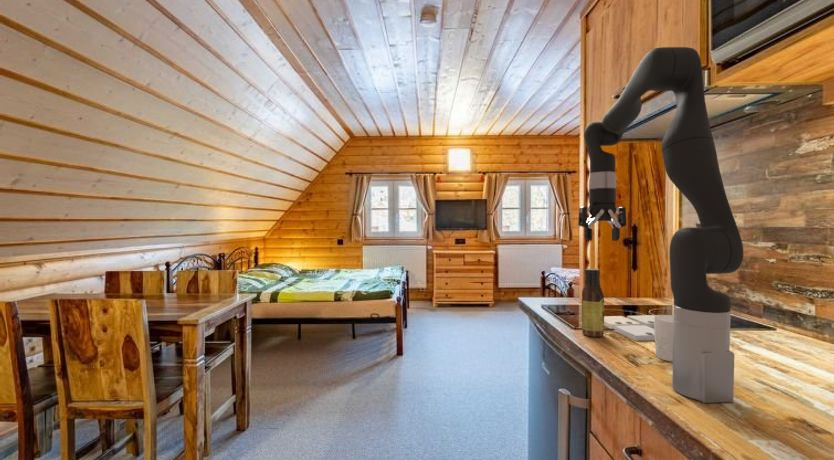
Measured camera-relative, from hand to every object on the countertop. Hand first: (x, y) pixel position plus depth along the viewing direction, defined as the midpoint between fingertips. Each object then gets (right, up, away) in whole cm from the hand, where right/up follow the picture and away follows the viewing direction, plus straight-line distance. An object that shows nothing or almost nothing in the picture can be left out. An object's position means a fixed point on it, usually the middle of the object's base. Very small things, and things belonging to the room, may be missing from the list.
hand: (602, 240), depth 120 cm
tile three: (+21, -28, +11) cm, 37 cm away
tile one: (+11, -28, -2) cm, 30 cm away
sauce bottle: (-4, -29, -2) cm, 29 cm away
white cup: (+7, -29, -21) cm, 37 cm away
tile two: (+9, -28, +10) cm, 31 cm away
